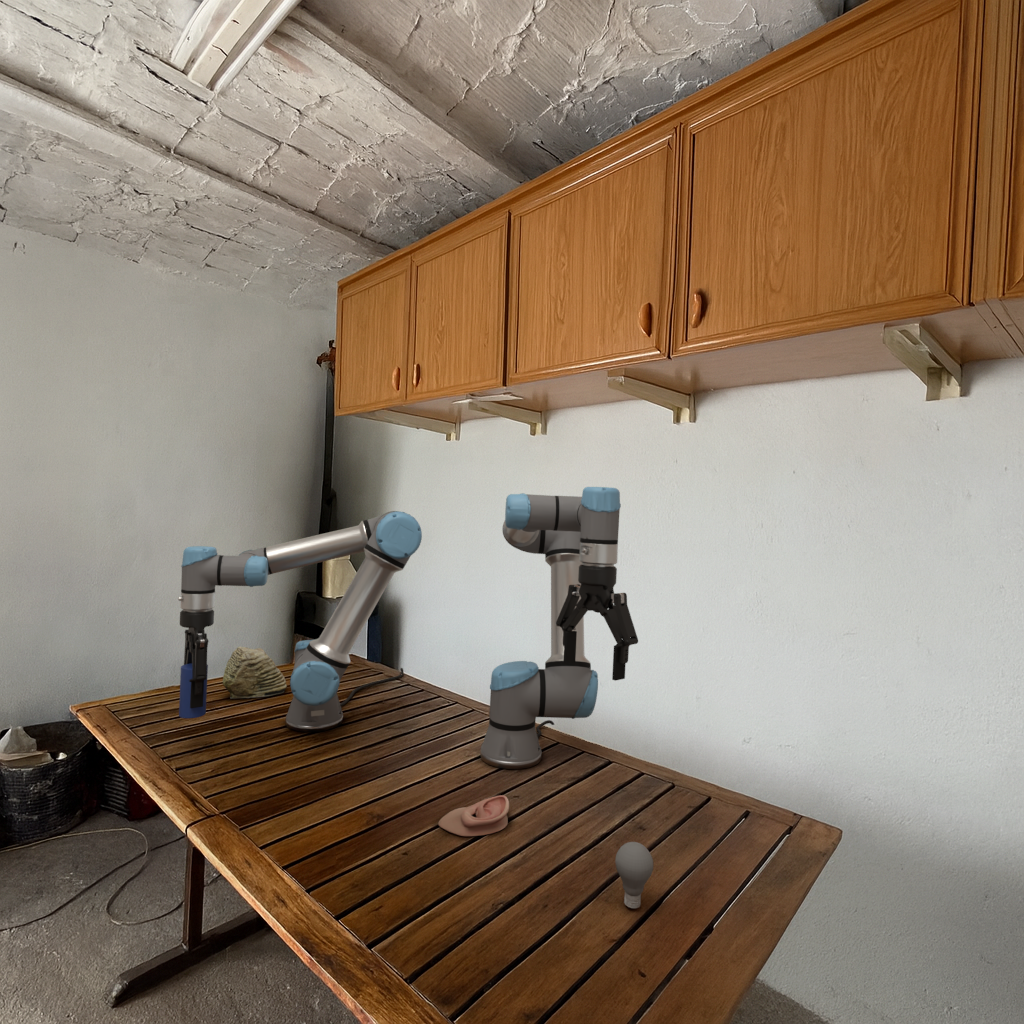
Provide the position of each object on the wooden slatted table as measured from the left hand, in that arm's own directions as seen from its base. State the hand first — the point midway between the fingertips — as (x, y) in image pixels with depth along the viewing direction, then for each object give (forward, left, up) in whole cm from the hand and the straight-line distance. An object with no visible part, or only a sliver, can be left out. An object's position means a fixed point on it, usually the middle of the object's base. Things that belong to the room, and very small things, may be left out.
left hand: (193, 702), depth 156 cm
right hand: (-36, +91, +20) cm, 100 cm away
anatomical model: (-21, +75, -11) cm, 78 cm away
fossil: (-32, -28, -11) cm, 44 cm away
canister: (0, 0, -3) cm, 3 cm away
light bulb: (-19, +111, -11) cm, 113 cm away
